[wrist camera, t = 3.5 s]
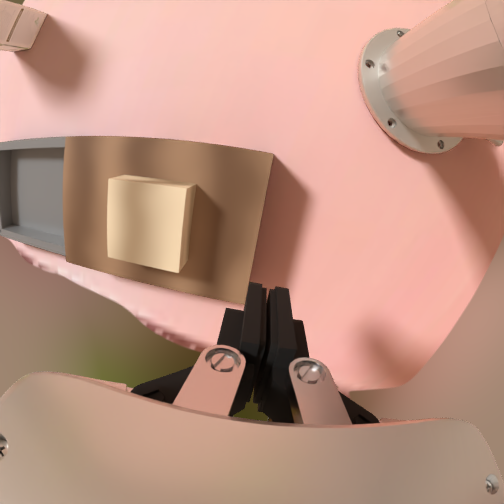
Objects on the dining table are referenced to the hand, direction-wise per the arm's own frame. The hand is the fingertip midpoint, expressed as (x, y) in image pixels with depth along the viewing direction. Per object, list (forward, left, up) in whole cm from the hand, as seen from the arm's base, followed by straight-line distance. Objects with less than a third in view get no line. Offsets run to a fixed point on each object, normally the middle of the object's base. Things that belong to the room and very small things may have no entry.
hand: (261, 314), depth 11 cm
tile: (+9, 0, -9) cm, 13 cm away
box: (+26, 0, -13) cm, 29 cm away
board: (+10, 0, -13) cm, 16 cm away
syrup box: (+36, -22, -13) cm, 44 cm away
